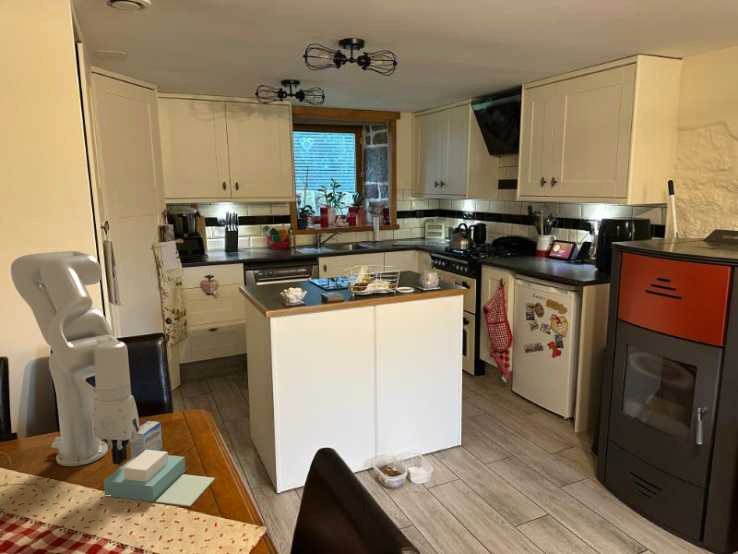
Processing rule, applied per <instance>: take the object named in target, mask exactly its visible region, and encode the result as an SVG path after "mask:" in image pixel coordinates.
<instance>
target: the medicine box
mask: <svg viewBox="0 0 738 554" xmlns="http://www.w3.org/2000/svg"><path fill="white" fill-rule="evenodd" d="M137 434H138V437H139V439H138V440H137V441H135V442H131V443H129V447H130V454H131V455H130V456H131V459H132V458H133V457H134V456H136V455H137V454H138V453H140V452H144V451H145V450H155V451H163V439H162V423H161V422H159V421H149V420H148V421H145V422H144V423H143V424H141V425H139V431H138V432H137ZM131 459H130V460H131Z"/></svg>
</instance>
